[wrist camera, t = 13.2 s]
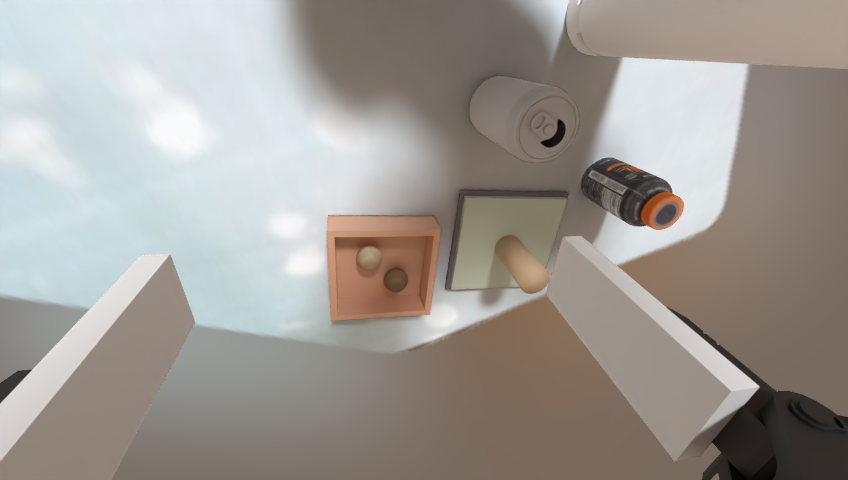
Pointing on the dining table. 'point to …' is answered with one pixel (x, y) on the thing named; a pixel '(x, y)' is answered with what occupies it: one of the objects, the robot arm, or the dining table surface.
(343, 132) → the dining table surface
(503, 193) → the mat
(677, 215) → the pill bottle
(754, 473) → the robot arm
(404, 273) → the ball walnut
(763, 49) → the bottle
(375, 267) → the ball beech
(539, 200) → the lid
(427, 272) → the dish
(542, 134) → the beverage can
